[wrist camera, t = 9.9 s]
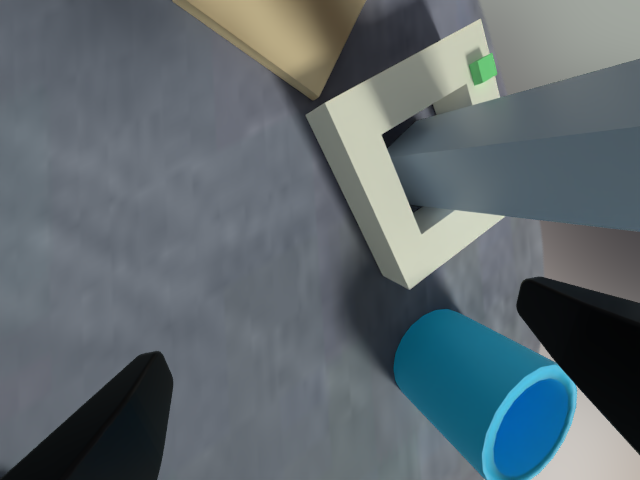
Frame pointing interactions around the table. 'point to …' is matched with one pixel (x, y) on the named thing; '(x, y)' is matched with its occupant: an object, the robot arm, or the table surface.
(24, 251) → the table surface
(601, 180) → the plug
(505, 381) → the mug
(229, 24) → the tan base plate
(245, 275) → the table surface
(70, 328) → the table surface
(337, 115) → the block
